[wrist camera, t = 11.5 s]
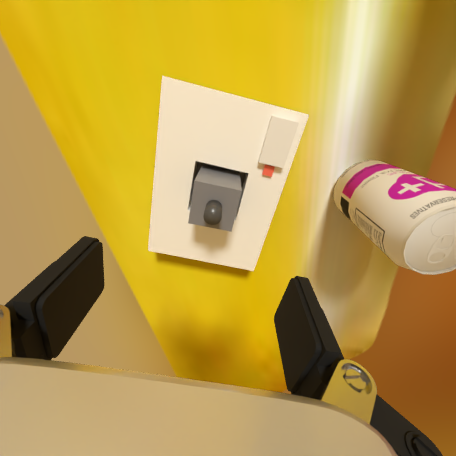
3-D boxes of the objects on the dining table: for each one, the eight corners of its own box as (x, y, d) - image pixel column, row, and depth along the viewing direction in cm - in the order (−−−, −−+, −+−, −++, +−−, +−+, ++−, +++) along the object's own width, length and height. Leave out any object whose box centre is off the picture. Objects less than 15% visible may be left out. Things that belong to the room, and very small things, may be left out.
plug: (239, 171, 31) (243, 198, 22) (231, 205, 34) (231, 242, 24) (202, 163, 31) (190, 188, 22) (197, 198, 33) (184, 233, 24)
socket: (299, 113, 29) (311, 115, 25) (251, 255, 39) (254, 274, 35) (171, 79, 27) (160, 74, 23) (155, 236, 37) (146, 253, 33)
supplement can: (339, 157, 31) (419, 195, 18) (400, 159, 31) (524, 200, 18) (325, 212, 35) (382, 277, 22) (379, 214, 35) (469, 281, 22)
